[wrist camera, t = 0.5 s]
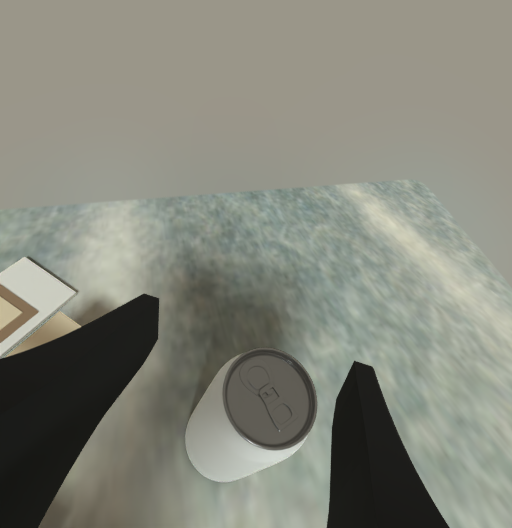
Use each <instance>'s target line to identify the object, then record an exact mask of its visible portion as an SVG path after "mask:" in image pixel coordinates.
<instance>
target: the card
mask: <svg viewBox="0 0 512 528" xmlns="http://www.w3.org/2000/svg"><path fill="white" fill-rule="evenodd" d="M75 295H77V294H76V292H75V291H73V290H72V289H71V288H69V287H68V286H66V285H65V284H63V283H62V282H60V281H59V280H58V279H56V278H55V277H53V276H52V275H50V274H49V273H48V272H46V271H45V270H43V269H42V268H40V267H39V266H37V265H36V264H35V263H33V262H32V261H30V260H29V259H27V258H26V257H23V258H22V259H20V260H19V261H17V262H16V263H14V264H13V265H11V266H10V267H8V268H7V269H6V270H4V271H3V272H1V273H0V359H1V358H2V357H3V356H4V355H5V354H7V353H8V352H9V351H10V350H11V349H12V348H14V347H15V346H16V345H17V344H18V343H20V342H21V341H22V340H23V339H24V338H26V337H27V336H28V335H29V334H30V333H31V332H33V331H34V330H35V329H36V328H37V327H39V326H40V325H41V324H42V323H43V322H45V321H46V320H47V319H48V318H49V317H51V316H52V315H53V314H54V313H55V312H56V311H58V310H59V309H60V308H61V307H62V306H64V305H65V304H66V303H67V302H68V301H70V300H71V299H72V298H73V297H74V296H75Z"/></svg>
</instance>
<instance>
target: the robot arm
mask: <svg viewBox="0 0 512 528" xmlns="http://www.w3.org/2000/svg"><path fill="white" fill-rule="evenodd" d="M158 320H159V298H156V297H153V296H150V295H147V294H142V295H141V296H139V297H137V298H135V299H133V300H131V301H129V302H128V303H126V304H124V305H122V306H120V307H118V308H117V309H115V310H113V311H111V312H109V313H107V314H106V315H104V316H102V317H100V318H98V319H96V320H94V321H92V322H90V323H88V324H86V325H84V326H82V327H80V328H78V329H76V330H74V331H72V332H70V333H68V334H65V335H63V336H61V337H59V338H56V339H54V340H52V341H49V342H47V343H44V344H42V345H39V346H37V347H34V348H31V349H29V350H26V351H23V352H20V353H17V354H14V355H11V356H8V357H5V358H2V359H0V528H38V526H39V525H40V523H41V521H42V519H43V517H44V515H45V513H46V511H47V510H48V508H49V506H50V504H51V502H52V501H53V499H54V497H55V495H56V494H57V492H58V490H59V488H60V487H61V485H62V483H63V481H64V479H65V478H66V476H67V474H68V473H69V471H70V469H71V468H72V466H73V464H74V463H75V461H76V459H77V457H78V456H79V454H80V452H81V451H82V449H83V448H84V446H85V444H86V443H87V441H88V439H89V438H90V436H91V435H92V433H93V431H94V430H95V428H96V427H97V425H98V424H99V422H100V421H101V419H102V418H103V416H104V415H105V414H106V412H107V411H108V410H109V408H110V407H111V406H112V404H113V403H114V402H115V400H116V399H117V398H118V397H119V395H120V394H121V393H122V391H123V390H124V389H125V387H126V386H127V385H128V383H129V382H130V381H131V380H132V378H133V377H134V376H135V374H136V373H137V372H138V370H139V369H140V368H141V366H142V365H143V363H144V362H145V360H146V359H147V357H148V355H149V354H150V352H151V350H152V348H153V347H154V345H155V343H156V341H157V340H158ZM327 528H449V526H448V525H447V523H446V522H445V520H444V518H443V517H442V515H441V514H440V512H439V510H438V509H437V507H436V505H435V504H434V502H433V500H432V499H431V497H430V495H429V493H428V492H427V490H426V488H425V486H424V484H423V483H422V481H421V479H420V477H419V475H418V473H417V471H416V470H415V468H414V466H413V464H412V462H411V460H410V458H409V455H408V453H407V451H406V449H405V447H404V445H403V443H402V441H401V438H400V436H399V434H398V432H397V429H396V427H395V425H394V422H393V420H392V417H391V415H390V413H389V410H388V408H387V405H386V402H385V400H384V397H383V394H382V391H381V389H380V386H379V383H378V380H377V377H376V374H375V371H374V369H373V367H372V366H369V365H365V364H362V363H359V362H356V361H354V363H353V365H352V367H351V369H350V371H349V373H348V375H347V378H346V380H345V382H344V384H343V386H342V388H341V390H340V392H339V394H338V397H337V399H336V405H335V411H334V418H333V425H332V445H331V476H330V502H329V514H328V522H327Z"/></svg>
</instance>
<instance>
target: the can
mask: <svg viewBox="0 0 512 528" xmlns="http://www.w3.org/2000/svg"><path fill="white" fill-rule="evenodd" d="M316 413H317V396H316V391H315V387H314V384H313V382H312V380H311V378H310V376H309V374H308V372H307V371H306V370H305V368H304V367H303V366H302V365H301V364H300V363H299V362H298V361H297V360H296V359H295V358H294V357H292V356H291V355H289V354H287V353H285V352H283V351H281V350H278V349H274V348H266V347H263V348H255V349H252V350H249V351H247V352H245V353H242V354H239V355H237V356H235V357H234V358H232V359H231V360H229V361H228V362H227V363H226V364H225V365H224V366H223V367H222V368H221V369H220V370H219V372H218V373H217V374H216V376H215V377H214V379H213V381H212V382H211V384H210V385H209V387H208V388H207V390H206V392H205V393H204V395H203V396H202V398H201V400H200V401H199V403H198V405H197V406H196V408H195V409H194V411H193V413H192V415H191V417H190V419H189V421H188V424H187V427H186V433H185V445H186V450H187V454H188V457H189V459H190V461H191V463H192V464H193V466H194V467H195V468H196V470H197V471H198V472H199V473H201V474H202V475H203V476H205V477H206V478H208V479H210V480H213V481H217V482H231V481H235V480H238V479H240V478H243V477H245V476H248V475H250V474H253V473H255V472H258V471H260V470H262V469H265V468H267V467H269V466H272V465H274V464H276V463H278V462H281V461H283V460H284V459H286V458H288V457H290V456H291V455H292V454H293V453H295V452H296V451H297V450H298V449H299V448H300V447H301V445H302V444H303V443H304V441H305V439H306V437H307V435H308V433H309V432H310V430H311V428H312V426H313V424H314V421H315V418H316Z"/></svg>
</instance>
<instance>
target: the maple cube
mask: <svg viewBox="0 0 512 528" xmlns="http://www.w3.org/2000/svg"><path fill="white" fill-rule="evenodd" d="M80 327H81V326H80V325H79V324H77V323H76V322H74V321H73V320H71V319H70V318H69V317H67V316H66V315H64V314H63V313H62V312H60V311H59V312H58V313H57V314H56V315H54V316H53V317H52V318H51V319H50V320H49V321H47V322H46V323H45V324H44V325H43V326H41V327H40V328H39V329H38V330H37V331H36V332H34V333H33V334H32V335H31V336H30V337H28V338H27V339H26V340H25V341H24V342H23V343H21V344H20V345H19V346H18V347H17V348H15V349H14V350H13V351H12V352H11V353H10V354H8V355H7V356H6V357H8V356H11V355H14V354H17V353H20V352H23V351H26V350H29V349H31V348H34V347H37V346H39V345H42V344H44V343H47V342H49V341H52V340H54V339H56V338H59V337H61V336H63V335H65V334H68V333H70V332H72V331H74V330H76V329H78V328H80Z"/></svg>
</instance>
